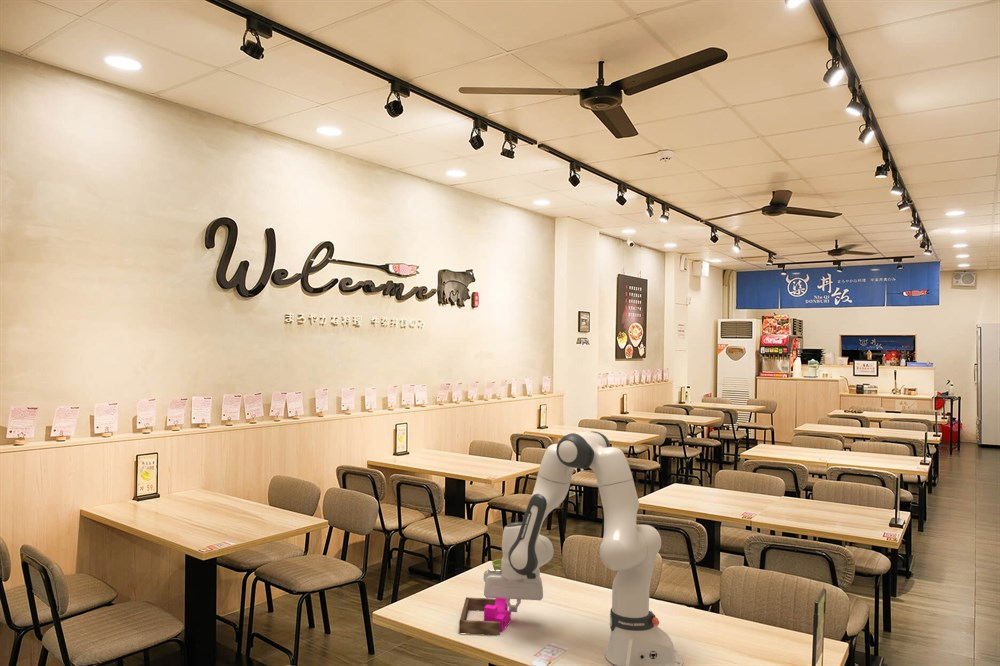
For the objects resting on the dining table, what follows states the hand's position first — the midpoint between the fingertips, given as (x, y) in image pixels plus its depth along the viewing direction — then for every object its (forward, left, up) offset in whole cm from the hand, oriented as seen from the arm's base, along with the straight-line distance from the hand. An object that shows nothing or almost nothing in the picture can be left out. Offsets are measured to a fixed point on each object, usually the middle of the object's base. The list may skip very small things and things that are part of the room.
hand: (513, 611), depth 227 cm
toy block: (+4, 0, -4) cm, 6 cm away
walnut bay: (+11, 0, -4) cm, 11 cm away
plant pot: (+5, -37, -4) cm, 37 cm away
